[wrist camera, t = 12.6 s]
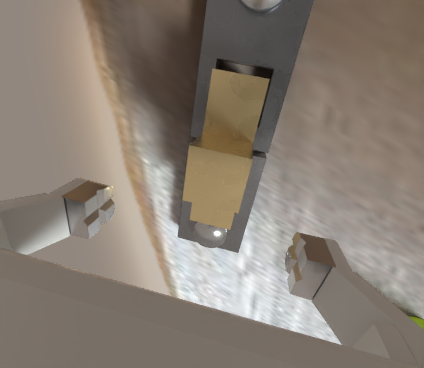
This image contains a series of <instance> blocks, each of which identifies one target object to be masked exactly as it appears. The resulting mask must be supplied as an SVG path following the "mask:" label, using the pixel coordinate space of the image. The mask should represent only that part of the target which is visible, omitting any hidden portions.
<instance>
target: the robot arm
mask: <svg viewBox="0 0 424 368" xmlns="http://www.w3.org/2000/svg"><path fill="white" fill-rule="evenodd" d="M113 196H114V190H113V188H112V187H111V186H108V185H105V184H101V183H97V182H93V181H89V180H85V179H82V178H77V179H75V180H73V181H71V182H69V183H68V184H66V185H64V186H62V187H60V188H58V189H56V190H54V191H53V192H51V193H49V194H47V193H42V194H37V195H31V196H26V197H20V198H15V199H9V200H4V201H0V368H424V329H423V328H421V327H420V326H419V325H418V324H417V323H416V322H414V321H413V320H412V319H411V318H410V317H408V316H407V315H406V314H405V313H404V312H402V311H401V310H400V309H399V308H398V307H397V306H395V305H394V304H393V303H392V302H391V301H389V300H388V299H387V298H386V297H385V296H384V295H382V294H381V293H380V292H379V291H378V290H376V289H375V288H374V287H373V286H372V285H370V284H369V283H368V282H367V281H366V280H365V279H363V278H362V277H361V276H360V275H359V274H357V273H355V272H352V270H351V268H350V266H349V264H348V262H347V260H346V258H345V256H344V255H343V253H342V251H341V249H340V247H339V245H338V243H337V242H336V241H335V240H330V239H326V238H320V237H316V236H311V235H307V234H303V233H298V232H297V233H296V234H295V235H294V237H293V239H292V240H293V246H291V247H289V248H288V251H287V253H286V258H285V268H286V271H287V272H288V273H289V274H290V275H289V277H288V279H287V280H288V286H289V292H290V294H293V295H296V296H299V297H303V298H306V299H309V300H312V302H313V304H314V305H315V306H316V308H317V309H318V311H319V312H320V314H321V315H322V316H323V318H324V319H325V321H326V322H327V324H328V325H329V326H330V328H331V329H332V331H333V332H334V334H335V335H336V336H337V338H338V339H339V341H340V342H341V344H342V345H339V344H336V343H332V342H329V341H325V340H322V339H318V338H315V337H311V336H308V335H304V334H301V333H297V332H294V331H290V330H287V329H283V328H280V327H276V326H273V325H269V324H266V323H262V322H259V321H255V320H252V319H248V318H245V317H241V316H238V315H235V314H231V313H228V312H224V311H221V310H217V309H214V308H210V307H207V306H203V305H200V304H196V303H193V302H189V301H186V300H182V299H179V298H175V297H172V296H168V295H165V294H161V293H158V292H154V291H150V290H147V289H144V288H140V287H137V286H133V285H129V284H126V283H123V282H119V281H116V280H112V279H108V278H105V277H102V276H98V275H94V274H91V273H87V272H84V271H81V270H77V269H74V268H70V267H66V266H63V265H60V264H56V263H53V262H49V261H45V260H42V259H39V258H35V257H31V256H28V255H27V254H30V253H32V252H34V251H36V250H39V249H41V248H43V247H46V246H48V245H50V244H52V243H55V242H57V241H59V240H62V239H64V238H66V237H69V236H70V235H74V236H78V237H82V238H86V239H90V238H91V237H92V236H93V235H95V234H96V232H98V231H99V230H100V225H102V224H105V223H107V222H108V221H109V220H110V219H111V217H112V215H113V213H114V209H115V207H114V206H115V205H114V202H113V201H112V199H111V198H112V197H113Z"/></svg>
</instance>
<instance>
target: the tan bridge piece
mask: <svg viewBox="0 0 424 368" xmlns="http://www.w3.org/2000/svg"><path fill="white" fill-rule="evenodd" d="M269 80H270V79H267V78H261V77H256V76H251V75H245V74H240V73H234V72H229V71H224V70H218V69H213V68H212V75H211V81H210V88H209V95H208V101H207V108H206V115H205V121H204V128H203V133H202V134H201V135H200V136H199V137H197V138H196V139H195V140H194V141H193V142H192V143H191V144H190V145H189V150H188V158H187V166H186V174H185V182H184V190H183V198H182V200H183V201H188V202H192V207H191V214H190V220H192V221H196V222H200V223H204V224H208V225H212V226H216V227H220V228H224V229H228V230H230V229H231V225H232V222H233V218H234V214H235V213H237V214H238V213H239V209H240V205H241V202H242V198H243V194H244V191H245V187H246V183H247V179H248V176H249V172H250V168H251V165H252V161H253V141H254V137H255V134H256V130H257V126H258V122H259V118H260V114H261V111H262V107H263V103H264V99H265V95H266V92H267V88H268V84H269Z"/></svg>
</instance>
